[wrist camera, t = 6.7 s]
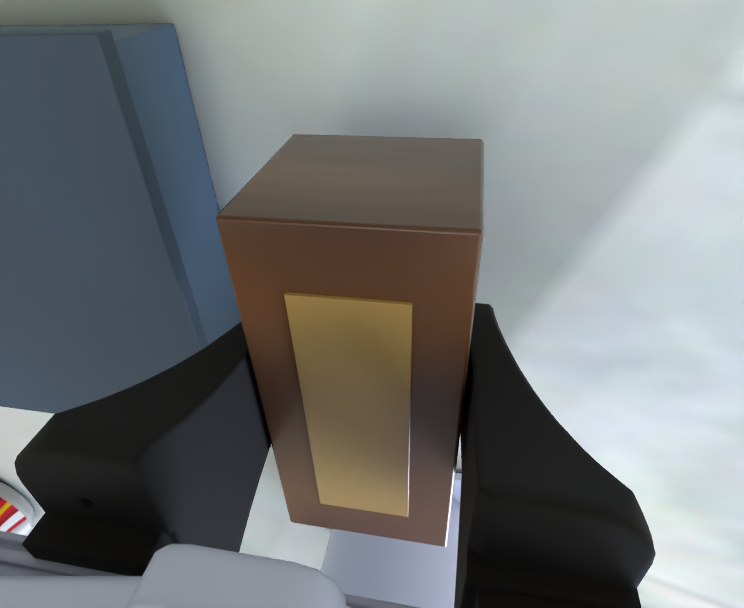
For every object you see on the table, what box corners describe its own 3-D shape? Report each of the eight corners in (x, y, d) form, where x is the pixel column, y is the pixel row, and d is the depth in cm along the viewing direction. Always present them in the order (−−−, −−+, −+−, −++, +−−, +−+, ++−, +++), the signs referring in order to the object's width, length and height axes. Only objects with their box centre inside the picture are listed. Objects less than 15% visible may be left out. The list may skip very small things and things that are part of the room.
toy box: (263, 369, 23) (228, 437, 20) (-2, 340, 26) (-70, 397, 22) (181, 11, 14) (96, 32, 11) (-211, 18, 17) (-370, 38, 14)
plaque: (454, 422, 17) (446, 552, 14) (328, 407, 18) (289, 526, 14) (483, 137, 11) (483, 234, 8) (292, 133, 12) (210, 218, 8)
